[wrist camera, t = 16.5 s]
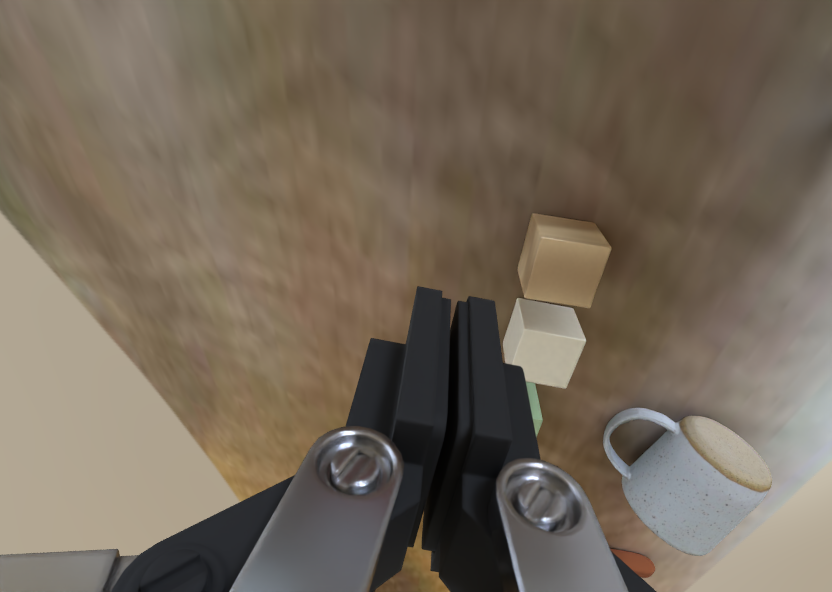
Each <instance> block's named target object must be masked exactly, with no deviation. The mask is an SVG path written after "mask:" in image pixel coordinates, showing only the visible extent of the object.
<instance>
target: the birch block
mask: <svg viewBox="0 0 832 592" xmlns="http://www.w3.org/2000/svg"><path fill="white" fill-rule="evenodd" d="M611 249H612V248H611V246H610V245H609V243H608V242H607V240H606V239H605V237H604V236H603V235H602V233H601V232H600V230H599V229H598V227H597V226H596V224H595V223H593V222H587V221H580V220H573V219H567V218H560V217H553V216H547V215H540V214H532V215H531V219H530V223H529V227H528V230H527V234H526V238H525V242H524V246H523V249H522V253H521V257H520V261H519V265H518V268H517V269H518V273H519V277H520V282H521V286H522V290H523V294H524V298H526V299H533V300H540V301H546V302H553V303H559V304H566V305H573V306H579V307H586V308H590V307H591V304H592V301H593V298H594V296H595V293H596V290H597V287H598V285H599V282H600V279H601V276H602V274H603V271H604V268H605V266H606V263H607V260H608V257H609V255H610V252H611Z"/></svg>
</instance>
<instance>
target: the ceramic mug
mask: <svg viewBox="0 0 832 592" xmlns="http://www.w3.org/2000/svg"><path fill="white" fill-rule="evenodd" d="M637 419H643V420H647V421H652V422H654V423H656V424H658V425H660V426H663V427H664V428H665V429H667V431H666V432H665V433H664V434H663V435H662V436H661V437H660V438H659V439H658V440H657V441H656V442H655V443H654V444H653V445H652V446H651V447H650V448H649V449H647V450H646V451H645V452H644V453H643V454H642V455H641V456H640V457H639V458H638V459H637V460H636V461H635V462H634V463H633V464H632V465H631V466H628V465H627V464H626V463H625V462H623V461H622V460H621V459H620V457H619V456H618V455H617V454H616V453H615V451H614V450H613V448H612V446H611V444H610V440H609V437H610V435H611V433H612V432H613V431H614V430H615V429H616V428H617V427H618V426H620V425H621V424H624V423H628V422H630V420H637ZM603 446H604V449H605V452H606V455H607V457H608V459H609V460H610V461H611V463H612V464H613V466H614V467H615V468H616V469H617V470H618V471H619V472H620V473H621V474H622V475H623V476H622V487H623V491H624V494H625V496H626V498H627V501H628V503H629V504H630V506H631V507H632V509H633V510H634V512H635V513H636V514H637V516H638V517H639V518H640V519H641V520H642V521H643V523H644V524H645V525H646V526H647V527H648V528H649V529H650V530H651V531H652V532H653V533H655V534H656V535H657V536H658V537H660V538H661V539H662V540H664V541H665V542H666V543H667V544H669V545H670V546H672V547H674V548H676V549H677V550H680V551H682V552H684V553H686V554H689V555H694V556H703V555H706V554H707V553H709V552H710V551H711V550H712V549H713V548H714V547H715V546H716V545H717V544H718V543H719V542H720V541H721V540H722V539H723V538H725V537H726V536H727V535H728V534H729V533H730V532H731V531H732V530H733V529H734V528H735V527H736V526H737V525H738V524H739V523H740V522H741V521H742V520H743V519H744V518H745V517H746V516H747V515H748V514H749V513H750V512H751V511H752V510H754V509H755V508H756V507H757V506H758V505H759V504H760V503H761V502H762V500H763V499H764V497H765V496H766V494H767V492H768V491H769V489H770V487H771V483H772V478H771V473H770V471H769V468H768V467H767V465H766V463H765V462H764V460H763V459H762V458H761V457H760V455H759V454H758V453H757V452H756V451H755V450H754V449H753V448H752V447H751V446H750V445H749V444H748V443H747V442H746V441H745V440H743V439H742V438H741V437H740V436H738V435H737V434H736V433H734V432H733V431H731V430H730V429H729V428H727V427H725V426H723V425H722V424H720V423H718V422H716V421H714V420H712V419H709V418H706V417H702V416H687V417H684V418H683V419H682V420H680V421H678V422H677V423H675V422H674V421H672V420H671V419H669V418H668V417H667V416H665V415H663V414H661V413H658V412H655V411H653V410H649V409H646V408H631V409H627V410H624V411H621V412H619V413H618V414H616V415H615V416H614V417H613V418H612V419H611V420H610V421H609V423H608V424H607V426H606V428H605V432H604V437H603Z"/></svg>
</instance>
